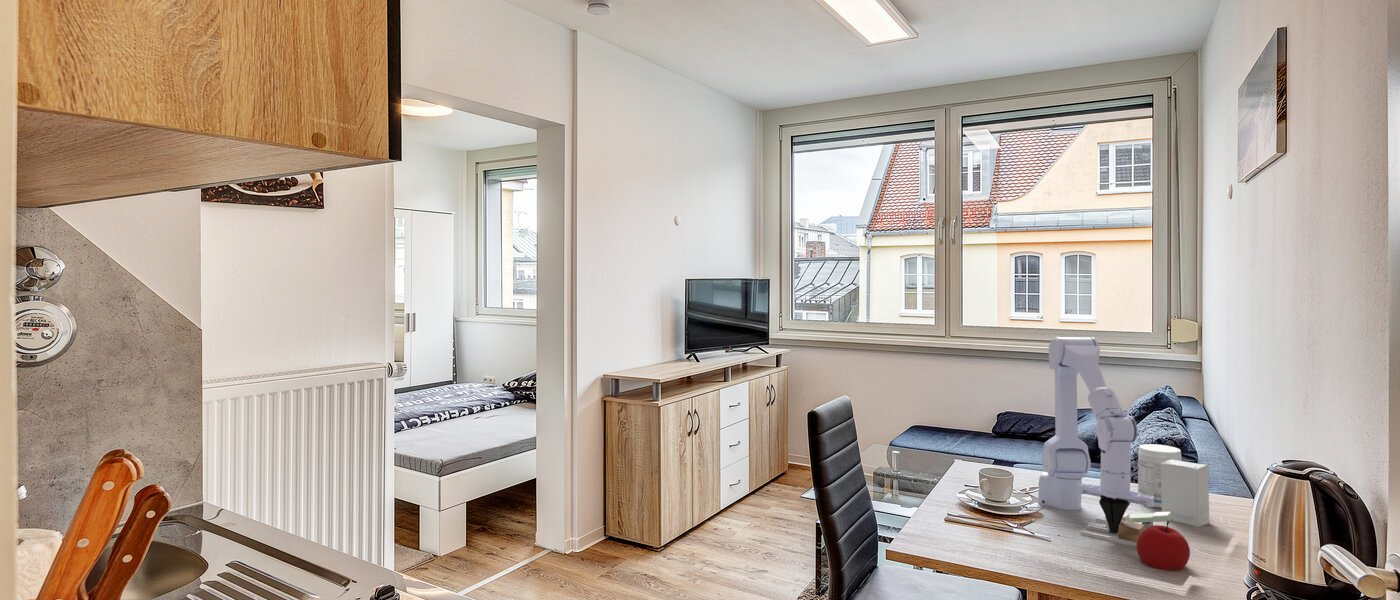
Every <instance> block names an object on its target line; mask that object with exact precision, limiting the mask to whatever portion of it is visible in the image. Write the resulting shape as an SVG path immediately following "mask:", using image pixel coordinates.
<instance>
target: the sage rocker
mask: <svg viewBox="0 0 1400 600" xmlns="http://www.w3.org/2000/svg"><path fill="white" fill-rule="evenodd" d="M1171 518H1172V514H1171V512H1162V511H1155V512H1153V513H1130V518H1129V522H1132V523H1142V522H1153V523H1157V522H1158V523H1159V522H1160V523H1161V522H1164V523H1165V522H1166V523H1167V520H1168V521H1169V522H1171V520H1170V519H1171Z"/></svg>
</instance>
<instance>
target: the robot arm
mask: <svg viewBox="0 0 1400 600" xmlns="http://www.w3.org/2000/svg"><path fill="white" fill-rule="evenodd" d="M1100 353H1101V349H1100V345H1099V342H1098V340H1097V339H1096V338H1095V337H1093V336H1089V337H1076V336H1075V337H1070V336H1069V337H1067V336H1065V337H1060V336H1055V337H1053V338H1052V339H1051V341H1050V343H1049V344H1048V365H1049V366H1048V367H1049V369H1051V370H1053V371H1054V412H1055V413H1054V416H1055V417H1054V418H1055V419H1054V421H1055V424H1054V425H1055V435H1053V436H1052V437H1051V438H1049V439H1048V440H1047V441H1045V442H1044V443H1043V451H1042V455H1041V462H1042V463H1041V464H1042V467H1043V469H1044V470H1045V471H1042V472H1041V474H1040V475H1039V479H1038V496H1037V498H1038V499H1037V500H1038V501H1037V503H1038V504H1039V505H1043V506H1048V507H1052V508H1056V509H1060V510H1065V511H1066V510H1067V511H1078V510H1082V495H1088V496H1093V497H1097V498H1098V497H1099V498H1100V499H1099V501H1098V503H1099V506H1100V508H1101V510H1102V512H1103V513H1104V515H1105V516H1106V519H1107V522H1108V526H1109V532H1110V533H1109V534H1111V533H1114V534H1113V535H1115V534H1117V533H1118V532H1119V524H1120V523H1121V520H1122V517H1123V515H1124V513H1125V512H1126V511H1127V509H1128V507H1129V506H1130V505H1131V504H1137V505H1142V506H1146V508H1147V507H1148V508H1154V507H1153V506H1154V497H1153V496H1148V495H1144V494H1140V493H1138V492H1135V491H1133V490H1131V472H1132V471H1131V464H1132V463H1131V462H1132V457H1131V456H1132V443H1134V442H1136V440H1137V438H1138V426H1137V422H1136V419H1135V418H1133V416H1132V415H1131V416H1130V415H1129V413H1128V412H1125V411H1124V410H1123V408H1122V405H1121V403H1120V402H1119V401H1120V400H1119V398H1118V397H1117V394H1116V393H1115V391H1114V390H1113V389H1112V388H1109V387H1107V385H1106V382H1105V379H1104V376H1103V373H1102V370H1101V367H1100V365H1099V359H1100V357H1101V355H1100ZM1078 374H1079V375H1080V377H1081V379H1082V380H1083V382H1084V383H1085V386H1086V387H1087V389H1088V391H1089V394H1088V396H1087V401H1088V403H1089V405H1090V409H1091V410H1092V412H1093V415H1094V417H1095V419H1096V421H1097V422H1096V426H1095V432H1096V436H1097V441H1098V442H1097V443H1098V449H1100V482H1099V483H1100V485H1095V484H1085V483H1083V481H1082V479H1083V478H1085V477H1086V475H1087V474H1088V473H1089V471H1090V470H1091V467H1092V465H1091V463H1092V462H1091V458H1090V453H1089V446H1088V445H1087V444H1086V442H1084V441H1083V440H1082V439H1080V438H1079V434H1078V433H1079V431H1078V425H1079V424H1078V381H1077V380H1078V379H1077V377H1078ZM1105 516H1104V517H1105Z"/></svg>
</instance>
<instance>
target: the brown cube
mask: <svg viewBox="0 0 1400 600" xmlns="http://www.w3.org/2000/svg"><path fill="white" fill-rule="evenodd" d="M1143 531H1144V525H1142V523H1138V522H1133V523H1132V522H1127V521H1123V522H1122V523H1120V524H1119V535H1117V536H1118V537H1117V538H1119V539H1124V540H1128V541H1133V542H1137V540H1138V538H1139V536H1140V535H1141V533H1142V532H1143Z"/></svg>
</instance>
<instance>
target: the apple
mask: <svg viewBox="0 0 1400 600" xmlns="http://www.w3.org/2000/svg"><path fill="white" fill-rule="evenodd" d="M1169 524H1170V521H1168V520H1167V521H1166V525H1160V524H1158V525H1156V524H1155V525H1154V524H1153V526H1150V527H1148V528H1146V529H1145V530H1144V531H1143V532H1142V533H1141V535H1140V536H1139V538H1138V540H1137V545H1136V551H1137V556H1138V558H1139V559H1140V561H1141V562H1142V563H1143V564H1144V565H1146V566H1148V567H1151V568H1154V569H1156V570H1163V571H1167V572H1168V571H1171V572H1173V571H1174V572H1176V571H1177V572H1178V571H1181V570H1183V569H1184V568H1185V567H1186V565H1187V564H1188V562H1189V560H1190V556H1191V548H1190V545H1189V542H1188V541H1187V540H1186V538H1185V537H1184V535H1182V534H1181V533H1180V532H1179V531H1178V530H1176V529H1174V528H1172V527H1170V526H1169Z"/></svg>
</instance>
